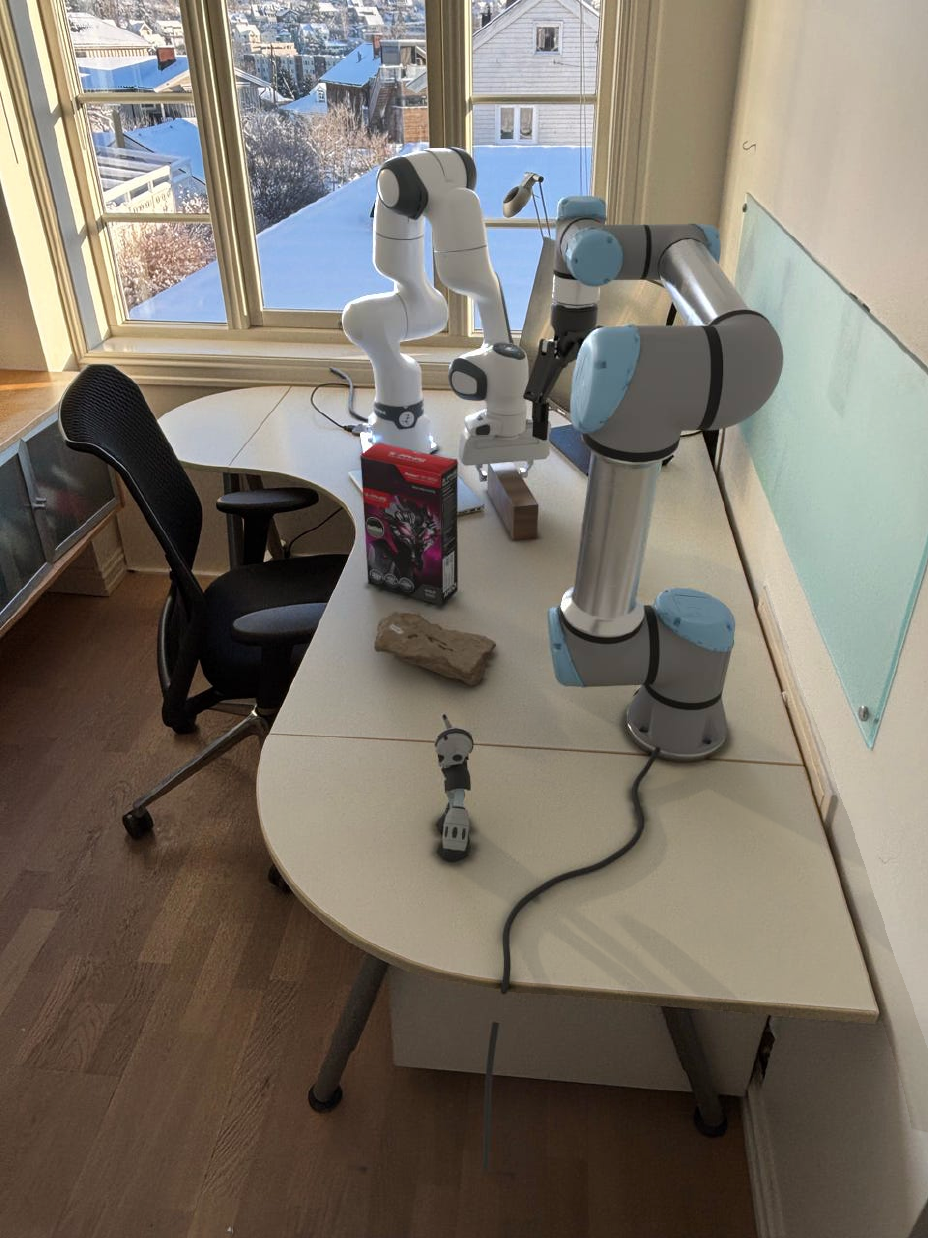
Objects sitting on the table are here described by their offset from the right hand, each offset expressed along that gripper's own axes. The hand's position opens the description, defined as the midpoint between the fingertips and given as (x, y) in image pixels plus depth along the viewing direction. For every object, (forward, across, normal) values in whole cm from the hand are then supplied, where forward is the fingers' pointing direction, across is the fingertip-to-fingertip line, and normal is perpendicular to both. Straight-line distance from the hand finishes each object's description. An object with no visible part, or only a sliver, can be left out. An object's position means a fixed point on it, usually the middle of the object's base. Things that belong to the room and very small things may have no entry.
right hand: (565, 427), depth 159 cm
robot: (+33, +58, +32) cm, 74 cm away
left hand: (+28, -21, -34) cm, 49 cm away
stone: (+33, +33, 0) cm, 47 cm away
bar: (+33, -17, -27) cm, 46 cm away
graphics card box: (+33, +20, -19) cm, 43 cm away
